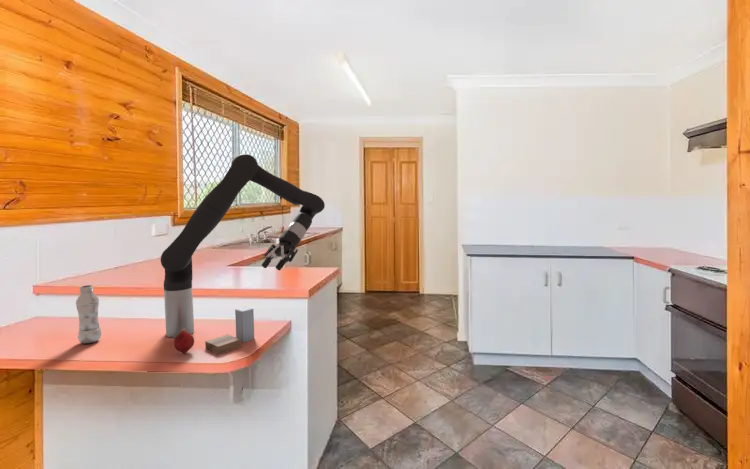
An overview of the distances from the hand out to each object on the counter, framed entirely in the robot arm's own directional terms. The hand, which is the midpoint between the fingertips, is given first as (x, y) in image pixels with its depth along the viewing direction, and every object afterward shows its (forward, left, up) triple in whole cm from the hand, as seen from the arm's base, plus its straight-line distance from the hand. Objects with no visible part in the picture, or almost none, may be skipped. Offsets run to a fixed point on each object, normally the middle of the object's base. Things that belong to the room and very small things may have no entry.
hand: (270, 268), depth 136 cm
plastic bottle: (-42, -46, -24) cm, 67 cm away
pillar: (0, -12, -24) cm, 27 cm away
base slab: (+1, -21, -25) cm, 32 cm away
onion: (-5, -31, -24) cm, 39 cm away
